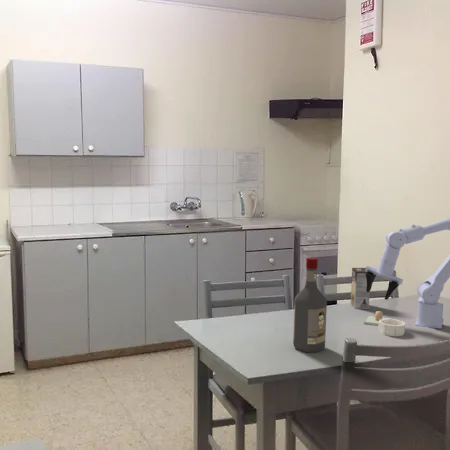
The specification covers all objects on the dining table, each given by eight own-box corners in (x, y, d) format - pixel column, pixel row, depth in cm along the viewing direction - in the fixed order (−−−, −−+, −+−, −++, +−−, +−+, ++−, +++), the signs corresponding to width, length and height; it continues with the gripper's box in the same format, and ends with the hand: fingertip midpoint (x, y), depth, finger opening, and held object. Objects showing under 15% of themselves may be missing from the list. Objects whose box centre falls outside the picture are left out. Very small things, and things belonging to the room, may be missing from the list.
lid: (392, 320, 221) (392, 310, 221) (389, 326, 213) (389, 316, 212) (368, 317, 225) (369, 308, 224) (364, 323, 216) (365, 313, 216)
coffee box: (349, 303, 248) (351, 267, 246) (364, 303, 248) (366, 267, 246) (354, 309, 239) (355, 271, 237) (369, 309, 239) (371, 271, 237)
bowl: (405, 331, 209) (406, 320, 208) (402, 338, 201) (403, 327, 200) (380, 328, 212) (380, 317, 212) (376, 334, 204) (377, 323, 204)
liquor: (289, 347, 189) (292, 258, 185) (306, 341, 195) (309, 255, 192) (311, 354, 182) (314, 262, 179) (328, 348, 189) (331, 258, 185)
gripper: (366, 255, 218) (355, 288, 219) (402, 268, 209) (391, 303, 211) (373, 255, 223) (362, 288, 225) (408, 268, 215) (397, 302, 217)
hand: (377, 295), depth 219 cm, fingers open, 7 cm apart
